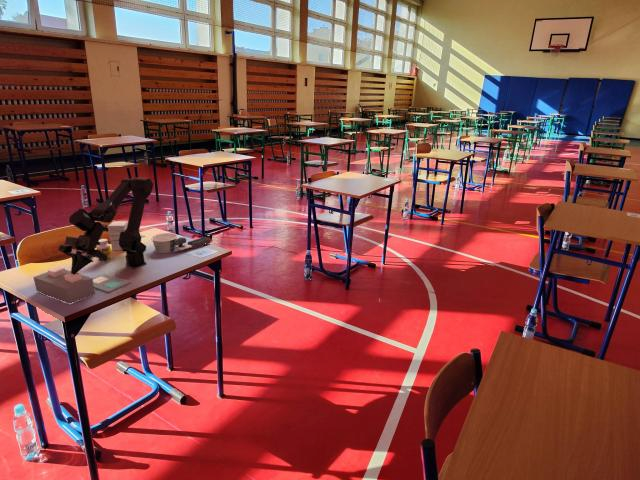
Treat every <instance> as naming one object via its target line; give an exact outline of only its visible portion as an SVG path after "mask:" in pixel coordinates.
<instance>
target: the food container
mask: <svg viewBox="0 0 640 480" xmlns="http://www.w3.org/2000/svg"><path fill="white" fill-rule="evenodd" d="M150 239H151V241H152V242H153V243H152V244H153V246H154V250H155V251H156V253H159V254H167V253H172V252H175V251H176V249H175V247H177V246H175V245H174V241H175V240H176V239H178V234H176V233H173V232H164V233H163V232H162V233H158V234H155V235H153V236H152V237H151V238H150Z"/></svg>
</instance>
